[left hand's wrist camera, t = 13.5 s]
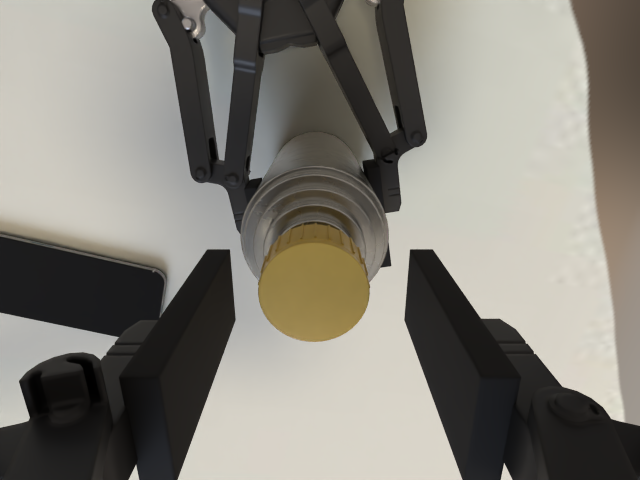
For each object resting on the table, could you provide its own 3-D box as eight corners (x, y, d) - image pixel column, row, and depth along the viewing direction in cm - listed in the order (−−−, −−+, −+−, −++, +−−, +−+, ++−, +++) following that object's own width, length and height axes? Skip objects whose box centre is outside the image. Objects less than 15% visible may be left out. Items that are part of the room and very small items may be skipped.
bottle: (331, 114, 31) (352, 153, 13) (373, 189, 33) (444, 318, 15) (256, 160, 32) (175, 257, 14) (301, 230, 34) (283, 398, 16)
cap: (332, 203, 15) (335, 219, 13) (382, 286, 16) (391, 312, 14) (243, 254, 15) (233, 276, 14) (298, 330, 17) (295, 360, 15)
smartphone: (155, 345, 37) (-21, 309, 36) (158, 341, 38) (-15, 305, 36) (165, 273, 35) (-23, 231, 33) (168, 270, 35) (-16, 228, 34)
